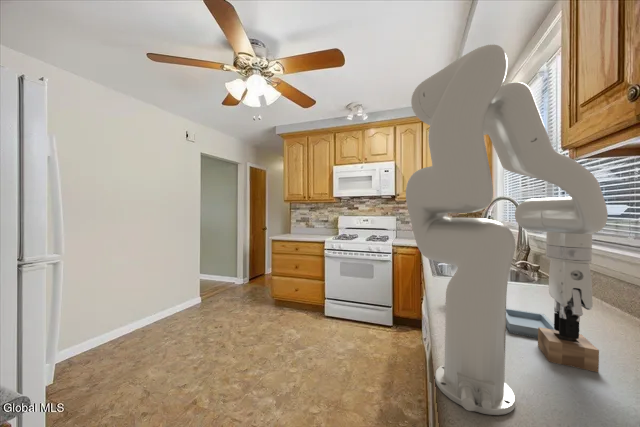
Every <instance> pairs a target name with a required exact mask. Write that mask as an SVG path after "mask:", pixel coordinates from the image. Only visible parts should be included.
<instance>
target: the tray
mask: <svg viewBox="0 0 640 427" xmlns="http://www.w3.org/2000/svg"><path fill="white" fill-rule="evenodd" d="M538 327H541V328H547V329H553V330H555V329H554V322H552V321H551V320H550V319H549V317H547V316H546V315H545V314H544V313H540V312H539V313H538V312H533V311H527V310H526V311H525V310H519V309H512V308H507V307H506V330H508V333H509V334H516V335H519V336H520V335H521V336H526V337H531V338H536V339H538Z"/></svg>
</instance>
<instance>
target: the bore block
mask: <svg viewBox="0 0 640 427" xmlns="http://www.w3.org/2000/svg"><path fill="white" fill-rule="evenodd" d="M537 346H538V348H539V349H540V351H541V352H542V354H543V355H544V356H545V358H546V359H547V361H548V362H549V363H553V364H559V365H563V366H566V367H567V366H568V367H571V368H577V369H581V370H586V371H590V372H591V371H592V372H596V373H599V369H600V366H599V365H600V364H599V363H600V361H599V360H600V350H599V349H598V348H597V347H596V346H595V345H594V344H593V343H591V342H590V341H589V339H588V338H586V337H585V336H584V335H583V334H581V333H579V338H578V339H574V338H573V342H572V341H566V340H561V339H559V331H556V330H553V329H547V328H541V327H538V338H537Z"/></svg>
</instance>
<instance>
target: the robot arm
mask: <svg viewBox="0 0 640 427" xmlns="http://www.w3.org/2000/svg"><path fill="white" fill-rule="evenodd" d="M507 73H508V57H507V54H506V51H505V50H504V48H503V47H502V46H500V45H498V44H486V45H483V46H480V47H477V48H474V49H473V50H471V51H469V52H468V53H466V54H464V55H463V56H460V58H458V59H456V60H455V61H453V62H451V63H449V64H448V65H446V66H445V67H444V68H442V69H441V70H439V71H438V72H435V73H434V74H433V75H430V76H429V77H428V78H426V79H424V80H423V81H422V82H421V83H419V84H418V85H417V86H416V87H415V89H414V91H413V92H412V95H411V100H410V101H411V104H410V105H411V108H412V110H413V113H414V115H415V116H416V117H417V118H418V119H419V120H420V121H421V122H423V123H424V124H426V125H427V126H429V128H428V130H429V131H428V147H429V153H430V154H429V155H430V158H431V159H430V160H431V166H427V167H423V168H421V169H417V170H416V171H415V172H413V173H412V175H411V176H410V177H409V179H408V181H407V183H406V188H405V201H406V206H407V212H408V216H409V219H410V224H411V228H412V232H413V236H414V241H415V243H416V246H417V248H418V250H419V252H420V253H421V255H422V256H424V257H425V258H426V259H428V260H430V261H433V262H437V263H441V264H446V265H450V266H452V267H453V266H454V267H456V268H457V269H456V271H455V273H454V275H452V277H451V278H450V280H449V281H448V283H447V286H446V288H445V316H444V317H445V319H444V322H445V323H444V356H443V357H444V358H443V359H444V361H443V362H444V364H442V365H440V366H439V367H438V368H436V370H435V375H434V376H435V380H434V382H435V384H436V385H437V387H438V389H439V390H440V391H441V392H442V394H444V396H446V397H447V398H448V399H450V400H451V401H453V402H454V403H456V404H457V405H460V406H461V407H463V408H464V409H465V410H466V411H467V412H476V413H479V414H485V415H488V416H489V415H492V416H500V415H501V416H502V415H506V414H509V413H511V412H512V411H513V410H514V409H515V407H516V394H514V391H513V390H512V388H511V387H510V386H509V385H508V384H507V383H506V382H505V376H506V375H505V374H506V373H505V372H506V371H505V370H506V336H507V333H506V332H507V331H506V330H507V327H506V308H507V295H508V294H507V293H508V283H509V276H510V272H511V266H512V264H513V259H514V255H515V251H516V239H515V236H514V233H513V232H512V231H511V229H510V228H509V227H508V226H507V225H505V224H503V223H502V222H499V221H498V220H493V219H490V218H481V217H449V214H469V213H476V212H481V211H482V210H484V209H487V208H488V207H489V206H490V205H491V203H492V201H493V197H494V186H493V185H494V184H493V179H492V175H491V174H492V173H491V169H490V168H491V167H490V164H489V158H488V152H487V148H486V142H485V141H486V140H485V136H486V135H488V137H489V138H490V141H491V143H492V146H493V148H494V151H495V153H496V155H497V157H498V160H499V162H500V165H501V166H502V168H503V169H504V170H505V171H507V172H511V173H513V174H517V175H521V176H525V177H528V178H533V179H537V180H541V181H545V182H547V183H549V184H551V185H554V186H556V187H558V188H560V189H562V191H564V192H565V193H566V194H567V195H569V196H558V197H557V196H556V197H541V198H540V197H538V198H529V199H527V200H524V201H522V202H521V203H519V204H518V205H517V207H516V208H515V211H514V219H515V221H516V223H517V224H518V225H519V227H521V228H523V229H525V230H527V231H530V232H531V231H532V232H541V233H546V241H545V242H546V245H545V246H546V247H545V259H547V260H550V263H549V269H548V294H549V296H550V297H551V298H552V299H554V307H553V308H554V313H553V324H554V329H555V330H556V331H559V334H560V335H561V336H563V337H569V338H574V339H578V338H579V334H580V321H581V316H583V315H584V312H583V308H584V309H585V310H588V311H590V310H592V309H593V308H594V307H593V304H594V303H593V286H592V285H593V281H592V280H593V279H592V274H591V273H592V272H591V268H590V264H591V263H593V262H592V258H593V254H592V253H593V249H592V248H593V234H595V233H598V232H601V231H602V230H603V229H604V228H605V227H606V225H607V222H608V217H609V216H608V208H607V204H606V200H605V197H604V194H603V191H602V188H601V185H600V182H599V181H598V179H597V177H596V176H595V175H594V174H593V173H592V172H591V171H590V170H589V169H587V168H586V167H585V166H583V165H582V164H580V163H579V162H577V161H576V160H574V159H572V158H570V157H569V156H567V155H565V154H562V152H561V153H560V152H558V151H557V150H555V149H554V147H553V145H552V143H551V140H550V137H549V134H548V131H547V129H546V127H545V124H544V121H543V118H542V115H541V113H540V110H539V108H538V105H537V102H536V99H535V97H534V94H533V91H532V90H531V88H530V86H529V85H527V84H526V83H524V82H520V81H518V82H517V81H515V82H514V81H513V82H509V83H508V82H507V83H504V82H505V79H506V76H507ZM567 303H571V304H572V305H568V304H567ZM560 304H561V305H562V308H561V317H562V318H560V317H559V314H560ZM567 309H571V310H568V311H567Z"/></svg>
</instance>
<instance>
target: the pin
mask: <svg viewBox="0 0 640 427" xmlns="http://www.w3.org/2000/svg"><path fill="white" fill-rule="evenodd" d="M567 304H568V305H572V304H571V303H567ZM561 308H562V305H561V304H560V314H559V317H560V318H562V317H561ZM568 310H571V309H567V311H568ZM559 339H561V340H566V341H572V342H573V338H569V337H563V336H561V335H560V334H559Z"/></svg>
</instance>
